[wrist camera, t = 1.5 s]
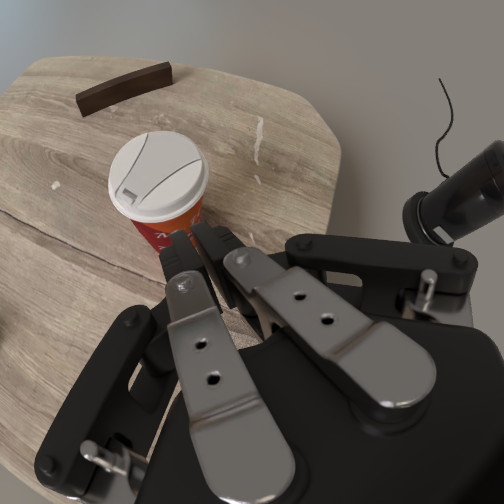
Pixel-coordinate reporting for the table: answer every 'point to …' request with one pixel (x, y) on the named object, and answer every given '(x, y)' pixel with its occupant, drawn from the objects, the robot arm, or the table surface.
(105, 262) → the table surface
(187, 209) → the paper cup
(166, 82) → the bar
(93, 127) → the table surface
